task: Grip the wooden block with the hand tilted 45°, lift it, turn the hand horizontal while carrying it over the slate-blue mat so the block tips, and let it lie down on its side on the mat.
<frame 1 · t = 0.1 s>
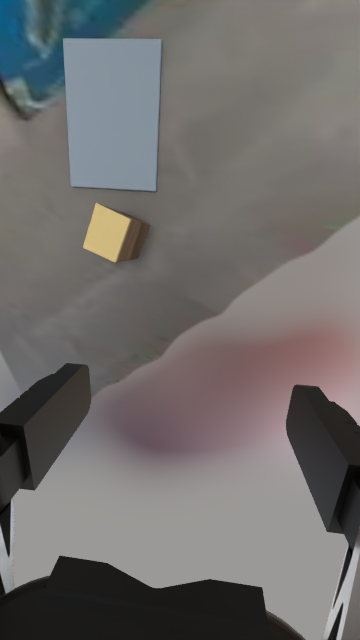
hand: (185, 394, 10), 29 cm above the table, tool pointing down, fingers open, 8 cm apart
slate mat: (113, 121, 33), on the table
wooden block: (131, 235, 37), on the table
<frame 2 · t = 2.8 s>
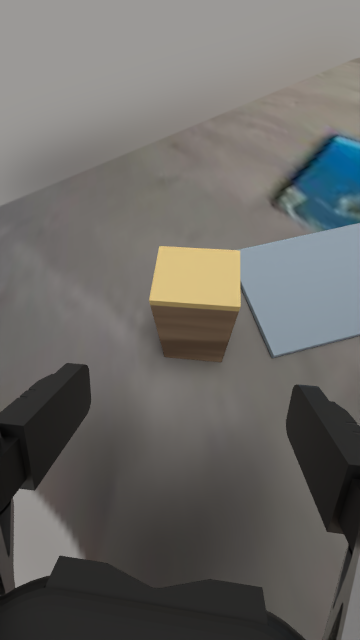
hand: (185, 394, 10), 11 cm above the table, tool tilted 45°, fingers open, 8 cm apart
slate mat: (322, 283, 25), on the table
wooden block: (194, 338, 23), on the table
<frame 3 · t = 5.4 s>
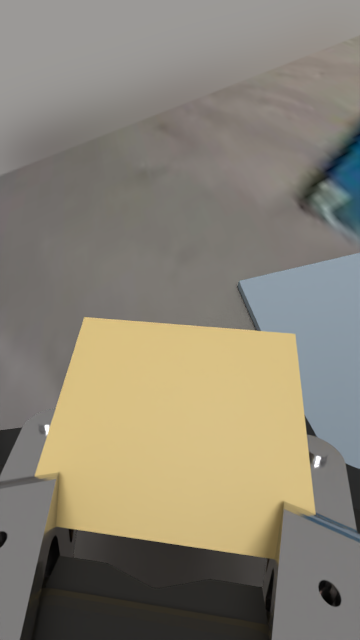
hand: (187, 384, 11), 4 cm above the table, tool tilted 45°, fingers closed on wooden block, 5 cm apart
wooden block: (185, 437, 13), on the table, touching gripper
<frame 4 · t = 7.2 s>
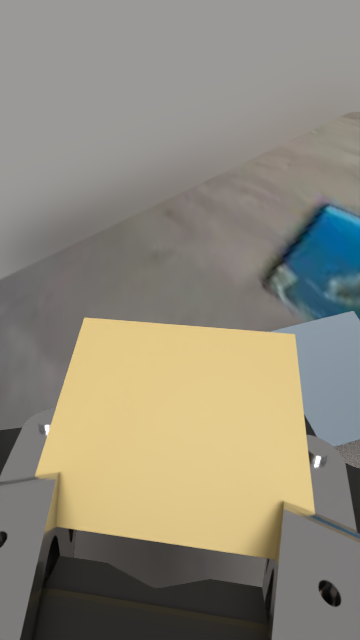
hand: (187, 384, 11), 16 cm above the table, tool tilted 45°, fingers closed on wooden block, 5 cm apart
slate mat: (311, 380, 26), on the table
wooden block: (185, 437, 14), point 11 cm above the table, touching gripper
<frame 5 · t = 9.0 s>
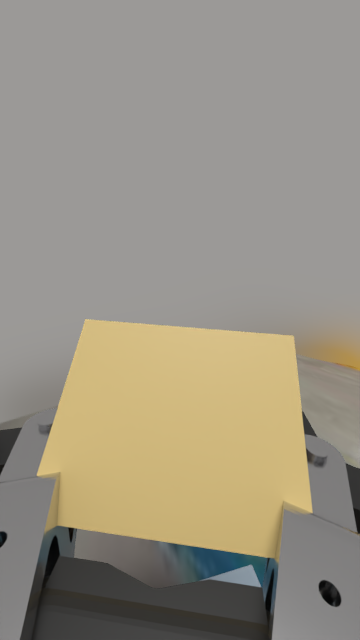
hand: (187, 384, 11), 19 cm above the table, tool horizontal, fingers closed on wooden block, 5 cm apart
wooden block: (185, 437, 14), point 15 cm above the table, tilted 45°, touching gripper
when the fingers open (9 cm above the table, at t = 11.9 s): wooden block drops 2 cm and tips over, resting on slate mat.
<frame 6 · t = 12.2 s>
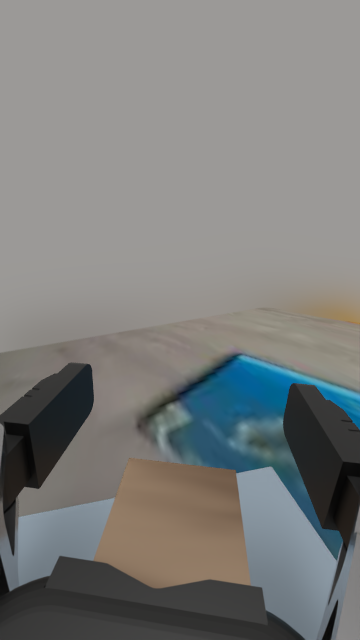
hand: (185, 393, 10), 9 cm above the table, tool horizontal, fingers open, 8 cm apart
wooden block: (179, 495, 12), point 3 cm above the table, tilted 90°, touching slate mat
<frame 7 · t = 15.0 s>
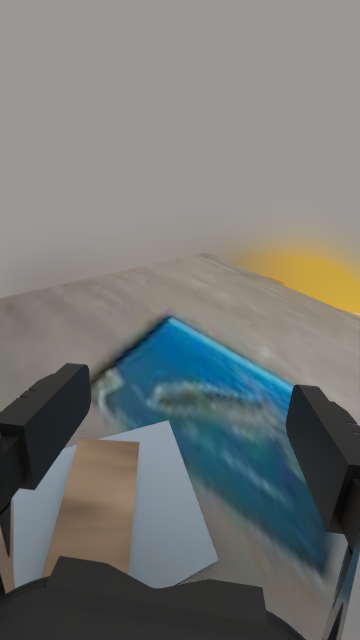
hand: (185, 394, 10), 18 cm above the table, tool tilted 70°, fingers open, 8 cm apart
slate mat: (101, 514, 21), on the table
wooden block: (108, 450, 22), point 3 cm above the table, tilted 90°, touching slate mat
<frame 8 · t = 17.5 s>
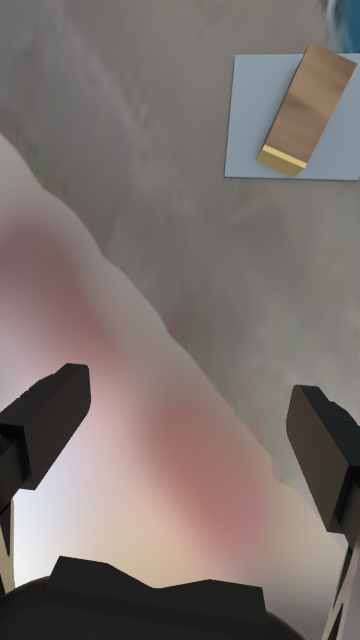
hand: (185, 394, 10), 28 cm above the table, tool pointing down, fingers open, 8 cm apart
slate mat: (297, 122, 30), on the table
wooden block: (324, 66, 26), point 3 cm above the table, tilted 90°, touching slate mat
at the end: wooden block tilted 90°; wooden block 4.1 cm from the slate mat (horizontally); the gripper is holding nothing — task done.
